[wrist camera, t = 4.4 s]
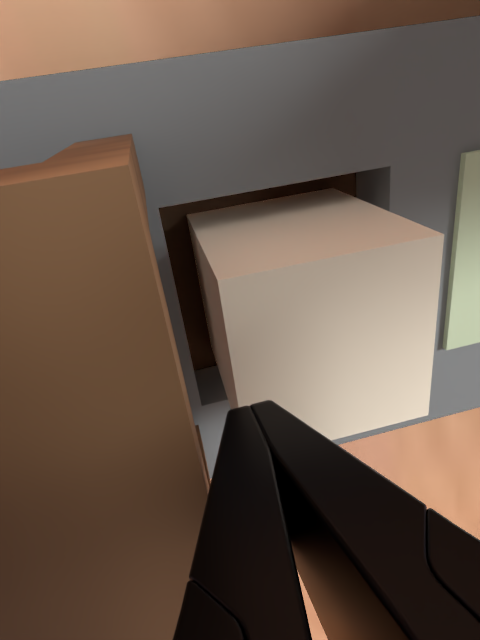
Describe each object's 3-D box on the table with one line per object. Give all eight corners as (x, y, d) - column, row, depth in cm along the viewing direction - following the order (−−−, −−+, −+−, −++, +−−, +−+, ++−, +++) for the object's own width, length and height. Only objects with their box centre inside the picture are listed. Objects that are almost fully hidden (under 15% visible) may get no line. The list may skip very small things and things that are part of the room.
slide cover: (131, 133, 9) (127, 165, 4) (205, 453, 14) (246, 657, 9) (-227, 189, 9) (-760, 312, 3) (-28, 513, 13) (-135, 781, 8)
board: (643, -1, 13) (734, -20, 11) (559, 348, 18) (609, 376, 16) (-280, 127, 10) (-385, 132, 8) (-46, 501, 15) (-72, 558, 13)
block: (332, 187, 13) (444, 234, 8) (336, 318, 15) (428, 414, 11) (186, 214, 13) (217, 280, 8) (211, 346, 15) (247, 462, 10)
